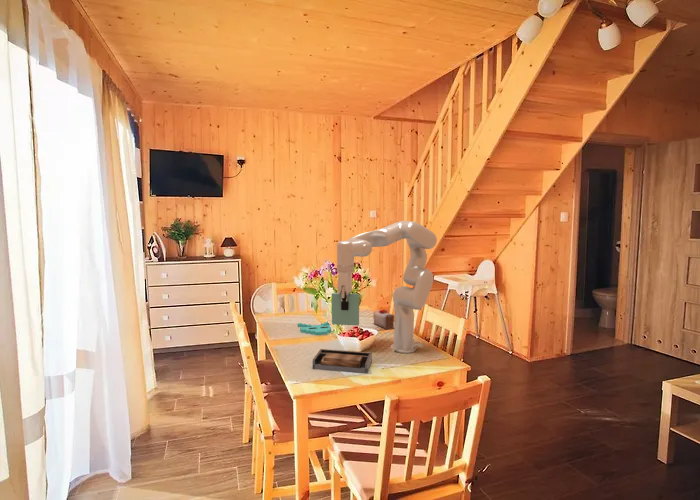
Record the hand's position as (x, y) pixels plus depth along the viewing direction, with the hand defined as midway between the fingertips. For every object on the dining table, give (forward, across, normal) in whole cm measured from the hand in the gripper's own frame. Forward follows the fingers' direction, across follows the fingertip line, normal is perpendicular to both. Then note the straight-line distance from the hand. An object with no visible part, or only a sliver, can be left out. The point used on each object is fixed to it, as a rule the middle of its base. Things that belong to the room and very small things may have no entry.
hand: (345, 308), depth 192 cm
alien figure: (+26, -46, -25) cm, 59 cm away
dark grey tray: (+25, +5, 0) cm, 26 cm away
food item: (+26, -62, +11) cm, 68 cm away
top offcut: (+21, +7, 0) cm, 22 cm away
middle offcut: (+23, +7, -1) cm, 24 cm away
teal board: (+7, 0, 0) cm, 7 cm away
